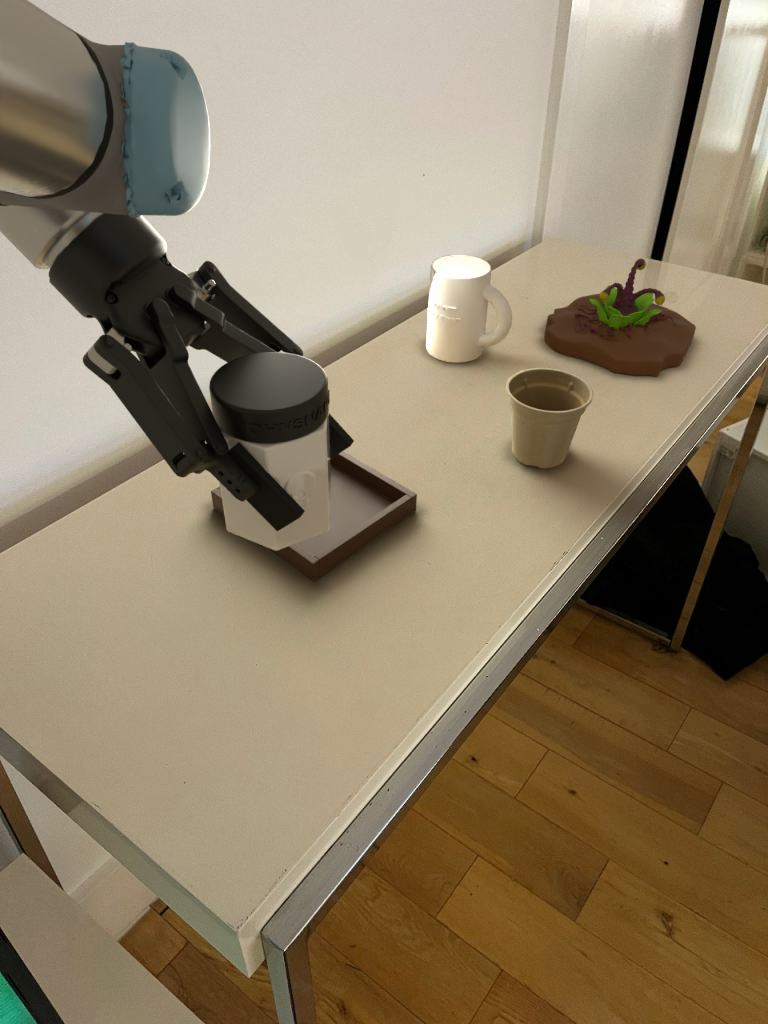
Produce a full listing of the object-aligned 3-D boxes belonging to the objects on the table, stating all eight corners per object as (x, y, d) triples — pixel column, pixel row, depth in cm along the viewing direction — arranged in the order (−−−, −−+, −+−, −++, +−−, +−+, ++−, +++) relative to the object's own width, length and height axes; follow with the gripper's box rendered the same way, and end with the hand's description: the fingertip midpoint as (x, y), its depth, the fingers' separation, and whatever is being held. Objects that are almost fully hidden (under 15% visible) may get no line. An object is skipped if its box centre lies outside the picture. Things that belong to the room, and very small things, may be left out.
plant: (712, 336, 113) (735, 261, 106) (655, 388, 102) (677, 308, 94) (589, 297, 123) (602, 226, 116) (524, 341, 111) (535, 265, 104)
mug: (492, 377, 103) (503, 291, 96) (414, 353, 108) (418, 270, 100) (517, 352, 109) (529, 269, 101) (442, 330, 113) (448, 250, 106)
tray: (314, 581, 74) (313, 564, 72) (213, 508, 82) (210, 490, 80) (416, 511, 82) (417, 493, 80) (315, 450, 90) (314, 434, 88)
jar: (249, 565, 56) (231, 427, 49) (207, 503, 62) (184, 370, 54) (356, 524, 60) (355, 390, 52) (308, 469, 65) (300, 339, 58)
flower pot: (481, 455, 90) (488, 390, 84) (525, 421, 95) (535, 358, 90) (551, 488, 85) (564, 422, 79) (594, 451, 91) (609, 387, 85)
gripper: (149, 220, 61) (340, 431, 68) (-53, 337, 46) (218, 596, 52) (199, 157, 57) (399, 390, 63) (-8, 264, 41) (284, 559, 48)
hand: (317, 483), depth 58 cm, fingers closed on jar, 8 cm apart
